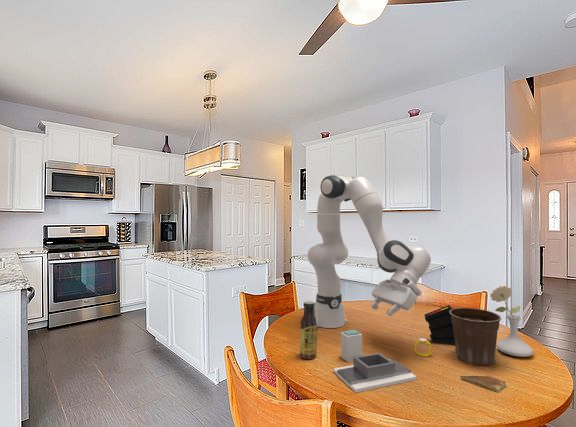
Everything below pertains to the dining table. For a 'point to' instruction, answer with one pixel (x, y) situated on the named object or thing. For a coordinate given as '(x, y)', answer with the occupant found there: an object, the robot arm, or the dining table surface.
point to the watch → (423, 342)
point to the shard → (486, 382)
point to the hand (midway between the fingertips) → (380, 311)
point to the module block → (351, 345)
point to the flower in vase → (511, 326)
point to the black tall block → (441, 326)
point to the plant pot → (475, 335)
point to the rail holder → (373, 373)
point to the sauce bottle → (308, 332)
